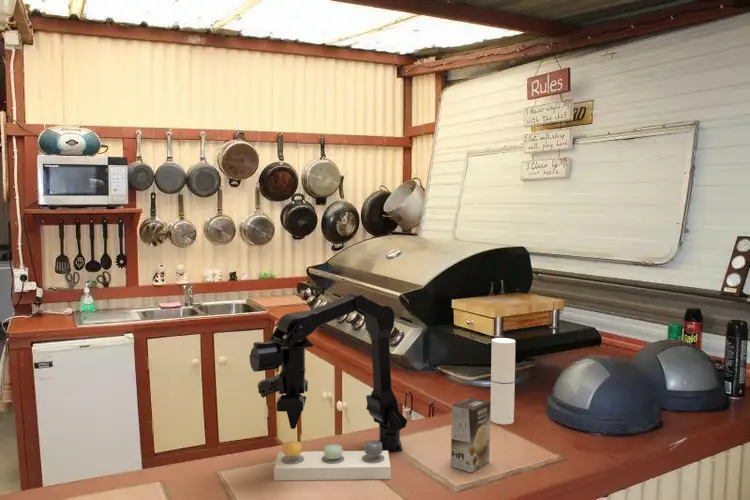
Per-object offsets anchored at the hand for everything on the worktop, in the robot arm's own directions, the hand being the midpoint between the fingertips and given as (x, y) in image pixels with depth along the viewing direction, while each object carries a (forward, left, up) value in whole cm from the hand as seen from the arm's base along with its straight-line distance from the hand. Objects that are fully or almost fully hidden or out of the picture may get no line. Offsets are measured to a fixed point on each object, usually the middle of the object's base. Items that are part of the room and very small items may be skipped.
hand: (293, 428), depth 153 cm
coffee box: (-3, +45, -11) cm, 46 cm away
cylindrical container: (-35, +61, -11) cm, 71 cm away
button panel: (0, +10, -11) cm, 15 cm away
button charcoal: (0, +20, -7) cm, 21 cm away
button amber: (0, 0, -7) cm, 7 cm away
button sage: (0, +10, -7) cm, 12 cm away
